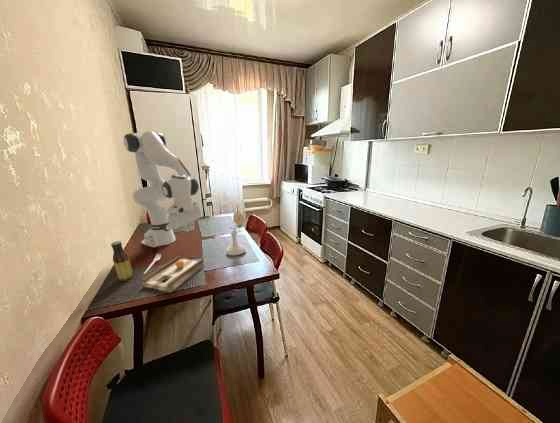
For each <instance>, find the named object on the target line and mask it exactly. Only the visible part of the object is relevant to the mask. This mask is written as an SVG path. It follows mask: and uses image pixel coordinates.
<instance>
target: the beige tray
mask: <svg viewBox="0 0 560 423" xmlns="http://www.w3.org/2000/svg"><path fill="white" fill-rule="evenodd" d="M178 260H182V261H183V262H184V266H183V267H181V268H178V267H176V262H177V261H178ZM204 266H205V265H204V260H203V259H202V258H201V259H200V260H193V259H187V258H181V256H180V255H178V256H176V257H174V258H173V259H171V260H170V261H168V262H167V263H166V264H164V265H162V266H160V267H159V268H157V269H156V270H154V271H153V272H151V273H150V274H148V275H146V276H145V277H143V278H142V279H141V282H142V287H143V288H147V287H148V288H147V289H151V288H153V290H156V289H158V291H161V292H167V293H172V292H173V291H174V290H176V289H177V288H178V287H179V286H180V285H182V284H183V283H184V282H186V281H187V280H188V279H189V278H191V277H192V276H193V275H194V274H196V273H197V272H199V271H200V269H202V268H203V267H204ZM163 280H164V281H165V282H163Z"/></svg>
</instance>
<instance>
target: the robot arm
mask: <svg viewBox="0 0 560 423" xmlns="http://www.w3.org/2000/svg"><path fill="white" fill-rule="evenodd" d="M166 142H167V141H166V138H165V135H163V133H161V132H156V131H155V132H154V131H144V132H135V133H131V132H129V133H127V134H124V136H123V144H124V145H123V146H124V147H125V149H126V150H127V151H128V152H129V153H134V154H135V162H136V166H137V170H138V174H139V176H140V178H141V179H142V180H144V181H146V182H149V184H150V186H145V187H141V188H138V189H136V190H135V191H134V192H133V194H132V195H133V196H132V198H133V202H135V203H136V204H137V205H138V206H141V207H143V208H144V209H145V211H146V212H147V213H148V216H149V218H150V219H149V220H150V223H149V224H148V227H150V228H149V229H148V230H147V232H145V233H144V235H143V236H144V239H143V240H141V242H140V243H141V245H145V246H148V247H151V248H156V247H162V246H166V245H169V244H172V243H174V242H175V241H176V235H175V234H174V230H178V229H179V228H181V227H183V229H184V232H186V233H188V232H189V231H191V230H192V224H193V222H194V221H196V220H198V219H200V218H201V216H202V214H201V210H200V207H199V204H198V203H197V202H196V201H193V198H192V196H195V195H196V194H197V193H198V191H199V190H200V185H199V183H198V180H196V178H194V177H193V175H192V174H191V173H190V172H189V170H188V169H187V168H186V167H185V165H184V163H183V162H182V161H181V160H180V158H179V157H178V156H176V155H175V154H173V153H172V152H171V151H170V150H168V149H167V146H166ZM158 166H159V167H166V168H170V169H173V170H175V172H176V173H175V174H173V175H171V176H170V178H169V179H168V180H167V181H165V179H164V178H163V177H162V175H161V173H160V170H159V167H158ZM169 199H173V204H172V205H171V206H170V207H169V208H165V207H162V206H160V205H159V203H160V202H164V201H167V200H169ZM173 229H174V230H173Z"/></svg>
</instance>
